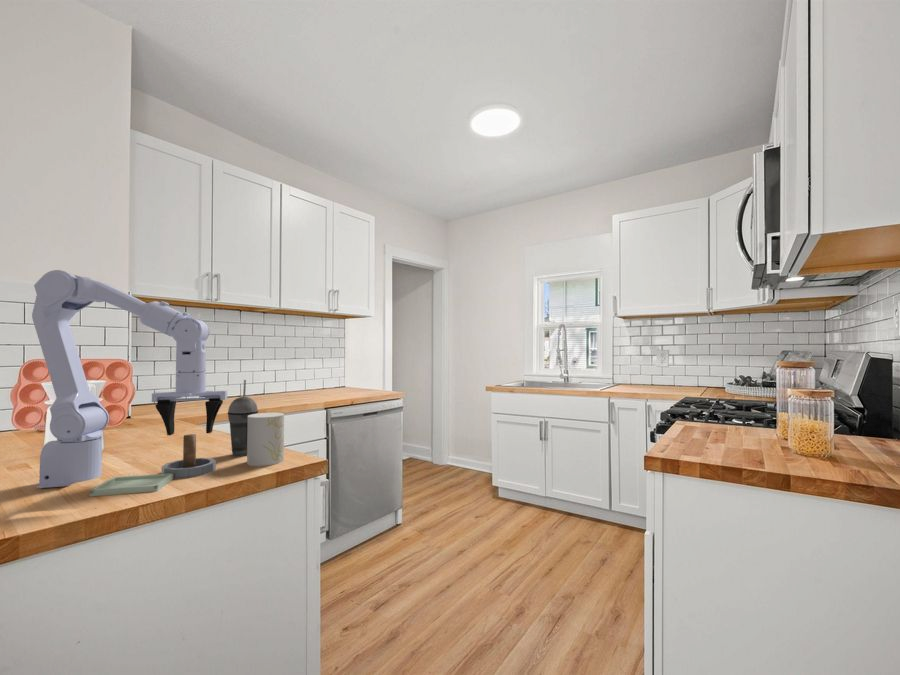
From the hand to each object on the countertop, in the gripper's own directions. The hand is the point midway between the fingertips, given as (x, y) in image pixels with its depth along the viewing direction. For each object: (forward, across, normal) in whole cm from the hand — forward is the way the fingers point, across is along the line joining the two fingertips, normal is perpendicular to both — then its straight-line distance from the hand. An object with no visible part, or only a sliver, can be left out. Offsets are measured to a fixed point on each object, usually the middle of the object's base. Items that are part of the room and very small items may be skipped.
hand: (190, 433), depth 97 cm
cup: (+9, +15, +5) cm, 18 cm away
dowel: (+8, 0, 0) cm, 8 cm away
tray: (+9, -7, -9) cm, 15 cm away
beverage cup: (+9, +8, +15) cm, 19 cm away
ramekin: (+9, 0, 0) cm, 9 cm away
